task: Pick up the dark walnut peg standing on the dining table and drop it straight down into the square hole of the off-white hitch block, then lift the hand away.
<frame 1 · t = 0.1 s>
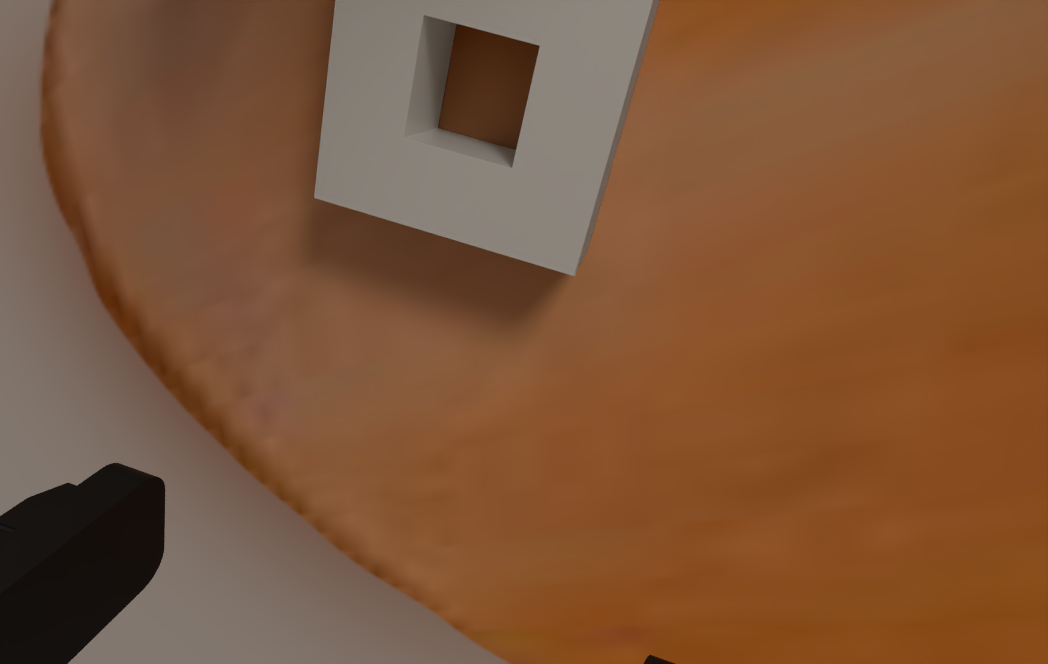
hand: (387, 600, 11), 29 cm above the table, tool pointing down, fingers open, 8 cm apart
hitch block: (496, 89, 36), on the table
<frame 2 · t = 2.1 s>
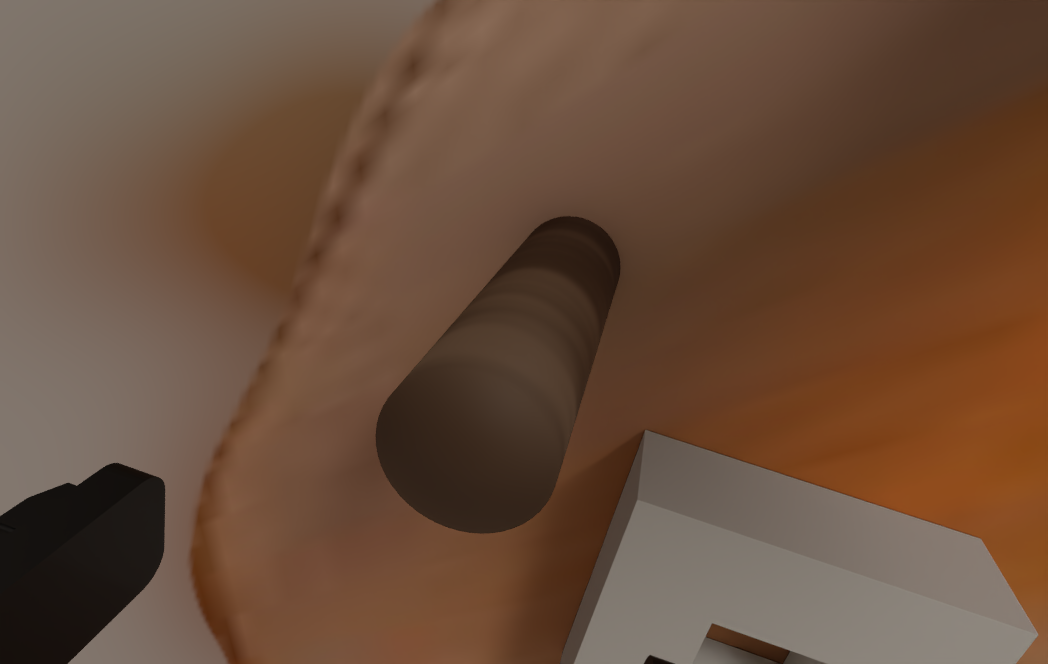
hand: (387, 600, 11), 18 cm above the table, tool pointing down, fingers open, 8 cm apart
walnut peg: (569, 266, 27), on the table
hitch block: (746, 602, 31), on the table
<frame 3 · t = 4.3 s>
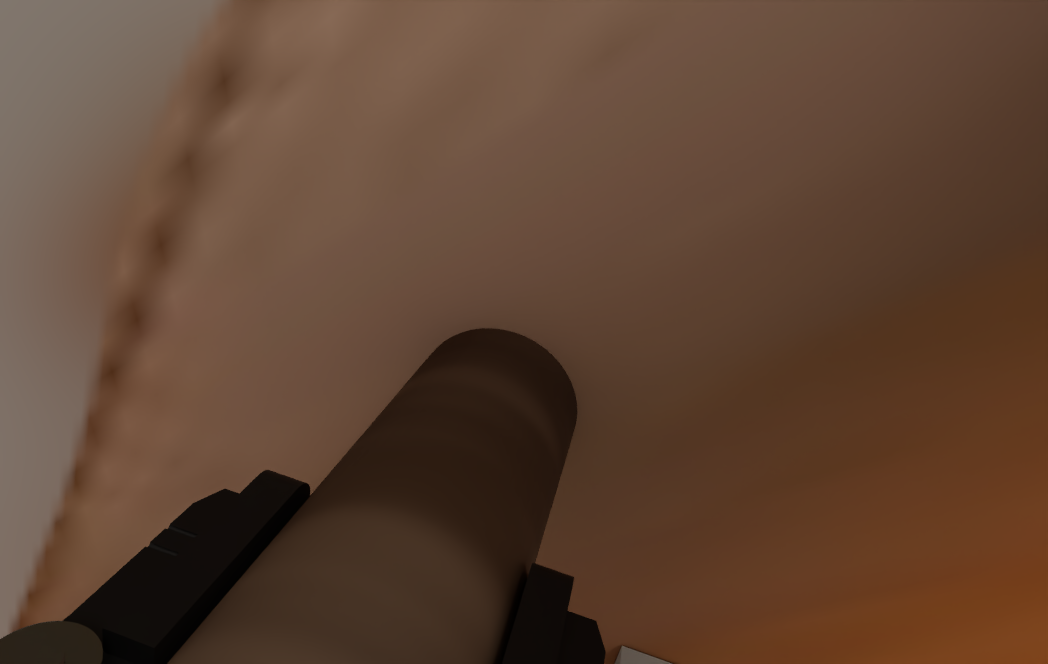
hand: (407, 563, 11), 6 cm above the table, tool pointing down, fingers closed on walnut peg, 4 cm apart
walnut peg: (495, 404, 17), on the table, touching gripper
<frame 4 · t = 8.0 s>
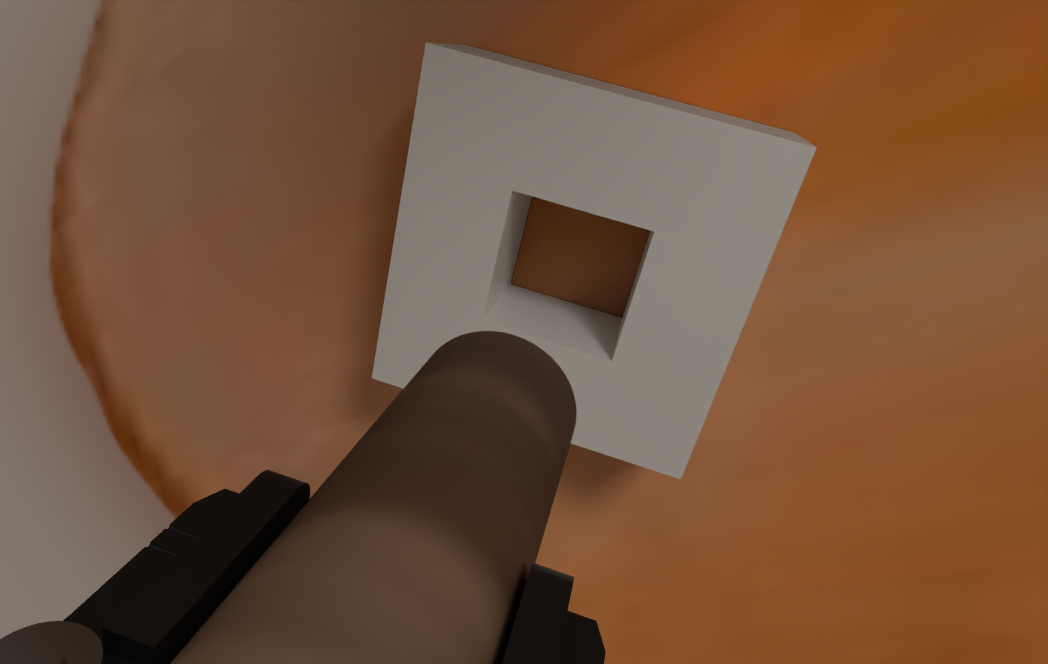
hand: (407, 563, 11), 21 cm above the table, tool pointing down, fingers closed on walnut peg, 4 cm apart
walnut peg: (495, 406, 17), point 16 cm above the table, touching gripper
hitch block: (581, 246, 31), on the table
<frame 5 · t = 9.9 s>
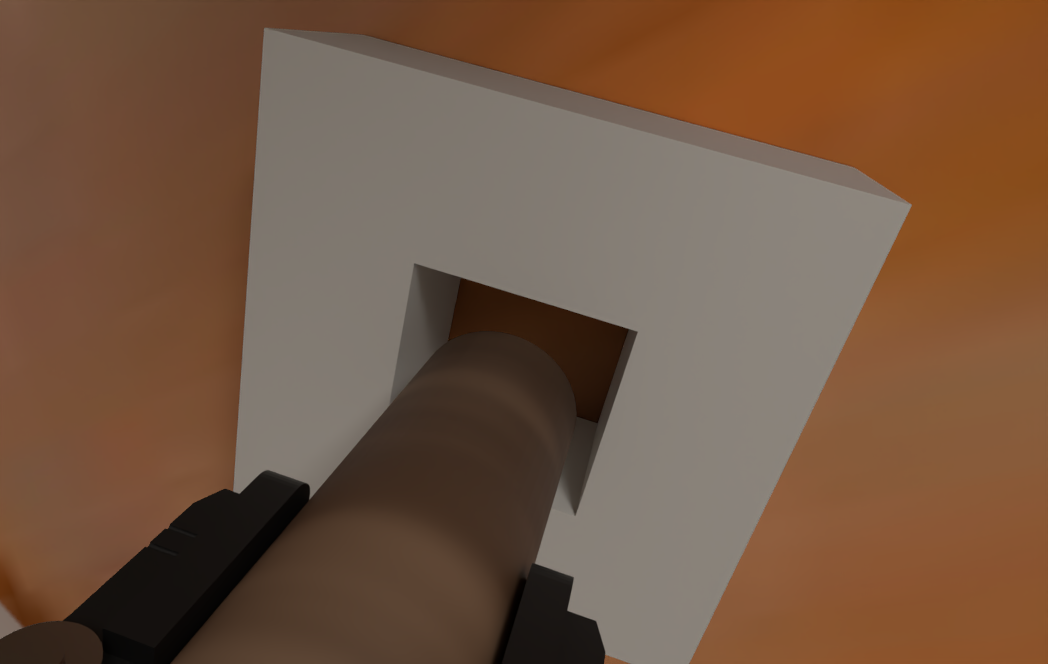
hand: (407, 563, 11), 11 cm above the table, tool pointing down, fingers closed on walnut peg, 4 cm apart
walnut peg: (495, 407, 17), point 5 cm above the table, touching gripper
hitch block: (537, 324, 21), on the table
when the fingers open (8 cm above the table, at t = 11.7 s): walnut peg drops 2 cm, resting in hitch block.
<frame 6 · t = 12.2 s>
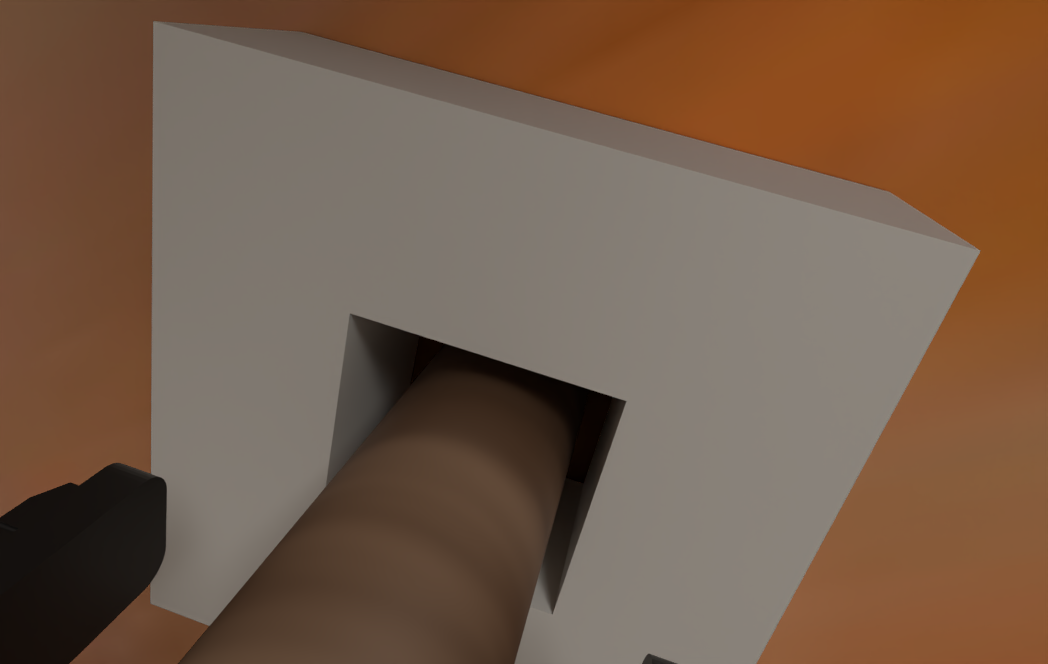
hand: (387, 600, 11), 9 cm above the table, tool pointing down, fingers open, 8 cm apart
walnut peg: (517, 372, 18), resting in hitch block
hitch block: (513, 370, 18), on the table
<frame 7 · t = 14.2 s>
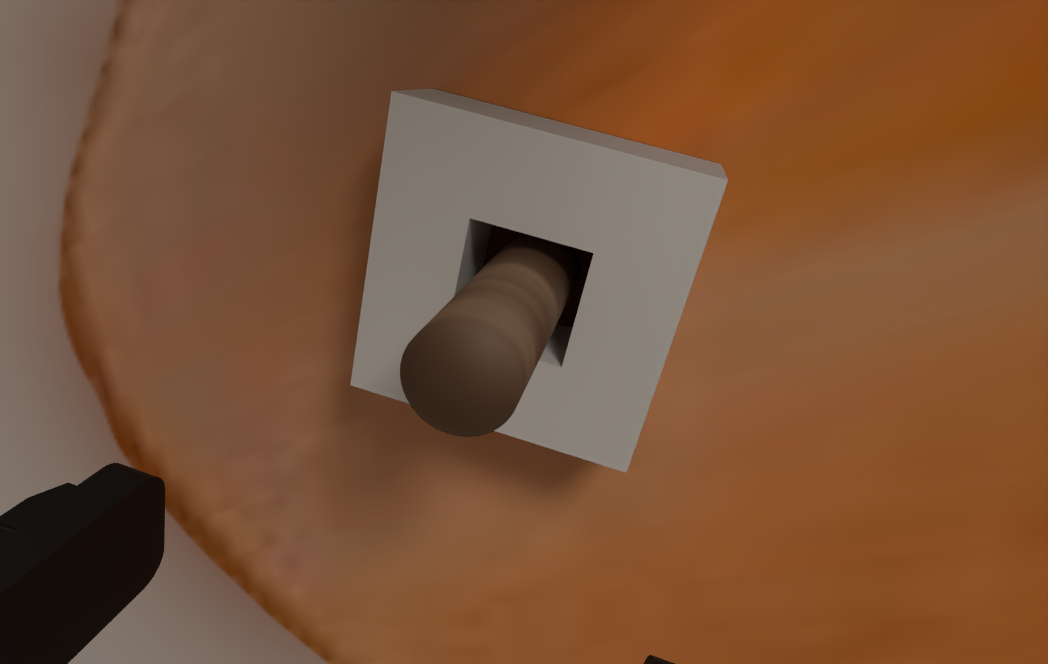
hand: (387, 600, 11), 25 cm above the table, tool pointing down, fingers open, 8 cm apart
walnut peg: (540, 265, 34), resting in hitch block
hitch block: (538, 265, 34), on the table
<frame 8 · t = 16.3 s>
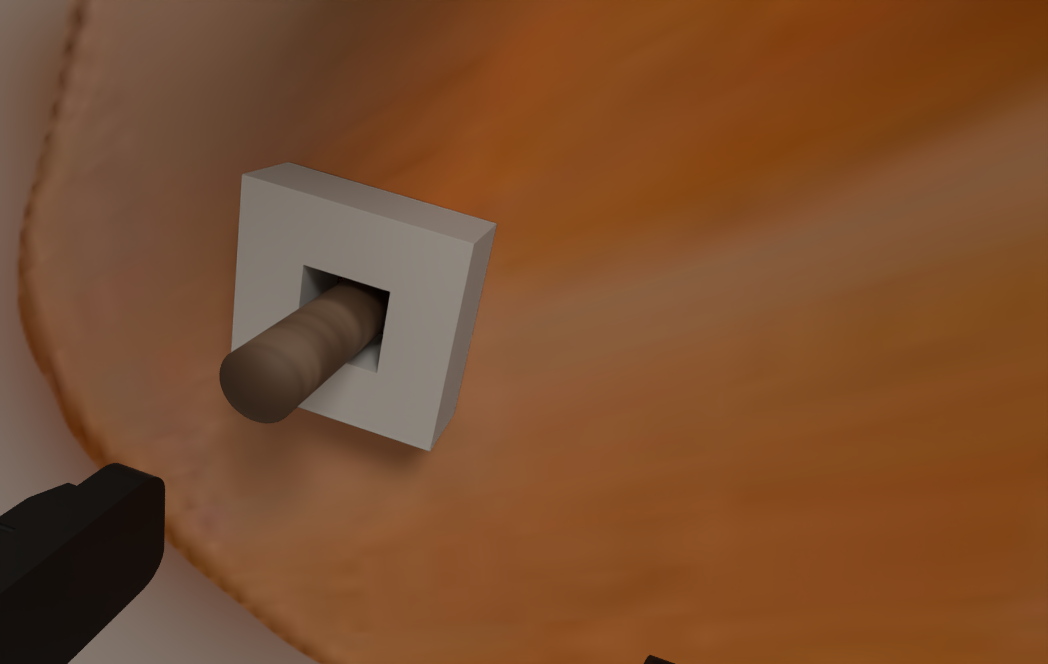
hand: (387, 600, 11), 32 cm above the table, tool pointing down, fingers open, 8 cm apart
walnut peg: (377, 294, 45), resting in hitch block
hitch block: (375, 293, 45), on the table
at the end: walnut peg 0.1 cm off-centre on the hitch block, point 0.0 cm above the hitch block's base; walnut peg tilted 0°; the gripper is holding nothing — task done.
